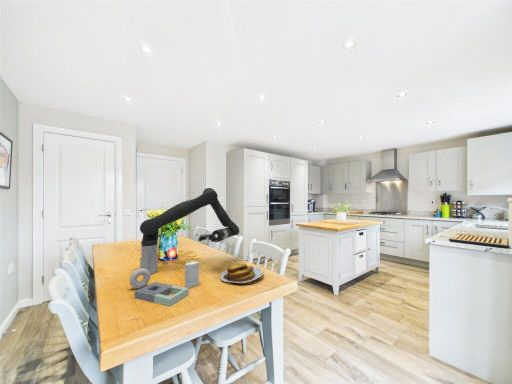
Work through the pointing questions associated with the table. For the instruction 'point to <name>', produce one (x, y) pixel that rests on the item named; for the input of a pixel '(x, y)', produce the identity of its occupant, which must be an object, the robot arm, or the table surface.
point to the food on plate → (241, 273)
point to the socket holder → (162, 293)
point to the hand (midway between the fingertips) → (205, 239)
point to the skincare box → (191, 274)
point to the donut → (134, 276)
